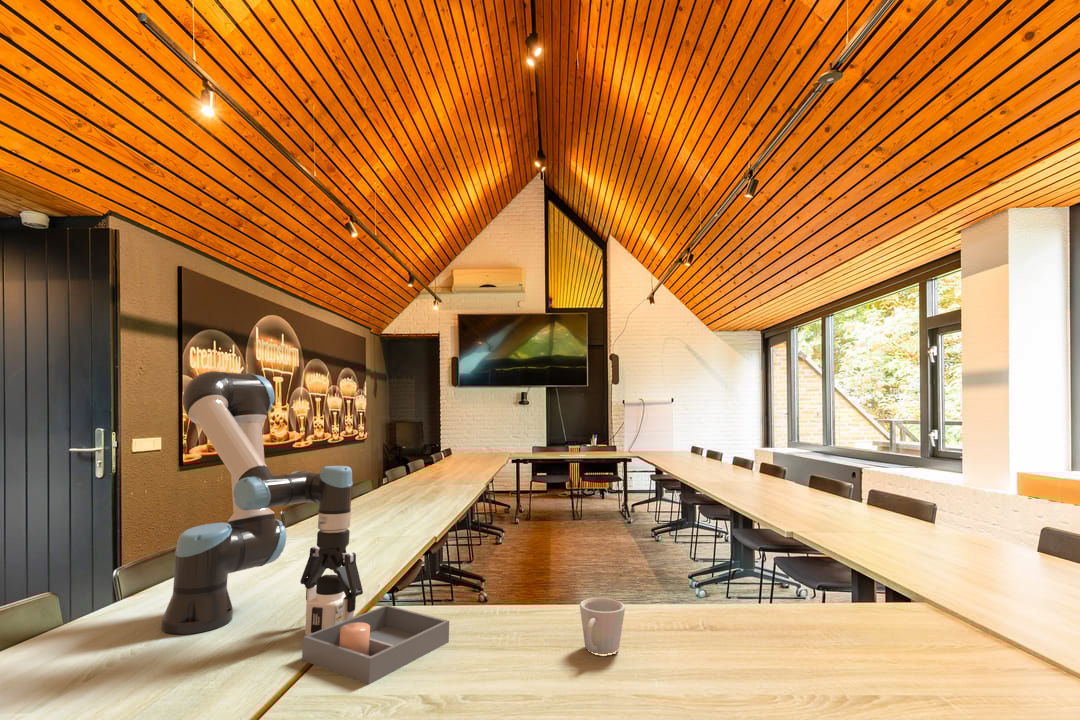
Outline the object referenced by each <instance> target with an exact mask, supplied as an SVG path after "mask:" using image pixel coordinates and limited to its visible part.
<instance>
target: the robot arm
mask: <svg viewBox="0 0 1080 720" xmlns="http://www.w3.org/2000/svg"><path fill="white" fill-rule="evenodd" d="M182 393H183V395H182V406H183V409H184V411H185V415H187V417H188V418H189V420H190V421H191V422H192V423H194V424H196V425H197V424H198V426H199V427H200V429H201V430H202V431H203V434H204V435H205V437H206V438H207V439H208V441H209V443H210V444H211V446H212V447H213V449H214V450H215V452H216V453H217V455H218V457H219V458H220V460H221V461H222V463H223V464H224V466H225V467H226V468H227V470H228V472H229V473H230V478H231V481H230V482H231V493H232V494H231V495H232V506H233V507H232V508H233V509H232V510H233V513H232V515H231V516H230V518H229V519H227V522H213V523H206V524H205V523H204V524H201V525H197V526H193V527H190V528H188V529H186V530H185V531H183V532H182V533H181V534H180V535H179V536H178V538H177V543H176V546H175V547H176V549H175V554H174V555H175V559H174V560H175V561H174V575H173V588H172V589H173V590H172V596H171V598H170V600H169V602H168V604H167V607H166V610H165V612H164V614H163V616H162V619H161V630H162V632H164V633H166V634H172V635H187V634H188V635H189V634H198V633H203V632H208V631H211V630H212V631H213V630H216V629H217V628H221V627H223V626H226V625H227V624H229V623H230V622H231V621H232V620H233V616H234V609H233V608H234V607H233V603H232V601H231V598H230V595H229V591H228V578H229V577H228V576H229V574H232V573H236V572H241V571H244V570H249V569H253V568H258V567H264V566H265V565H268V564H271V563H273V562H276V560H278V559H279V558H280V557H281V554H282V553H283V552H284V549H285V547H286V542H287V531H286V530H287V529H286V527H285V525H284V524H283V522H282V521H281V520H279V519H277V518H276V514H275V513H276V512H275V511H273V510H272V509H271V508H273V507H275V508H276V507H281V506H289V505H296V504H301V503H302V504H303V503H313V504H318V516H317V517H318V519H317V520H318V521H317V529H318V531H317V532H316V533H317V534H316V535H317V537H316V546H314V547H313V546H312V547H311V548H310V549H309V556H308V559H307V562H306V565H305V567H304V571H303V573H302V574H301V575H302V576H301V579H300V580H299V581H300V584H301V585H304V587H305V590H306V591H305V601H306V606H305V607H306V608H305V612H306V611H307V602H309V601H310V600H312V599H314V598H316V586H317V579H318V578H319V577H321V576H324V573H325V571H326V570H327V569H329V570H331V571H333V574H337V576H338V578H339V581H340V583H341V586H342V588H343V590H344V594H345V595H346V597H344V598H343V614H342V622H343V621H346V620H348V619H351V618H353V617H355V616H354V611H355V610H356V600H357V598H356V597H358V596H361V595H363V594H364V590H363V587H362V583H361V578H360V573H359V570H358V566H357V555H356V553H355V552H350V553H349V552H348V553H347V546H348V545H350V530H349V528H350V527H351V511H352V510H351V506H352V505H351V504H352V489H353V485H354V483H353V471H352V468H351V467H350V466H348V465H326V466H323V467H322V468H321V470H320V472H313V471H308V470H299V471H297V470H296V471H293V472H291V473H285V474H284V473H283V474H273V471H272V470H271V469H270V468H269V467H268V466H267V464H266V461H265V450H264V435H263V423H264V422H265V420H267V418H268V413H269V412H270V411H271V410H272V409H273V406H274V405H273V404H274V403H275V391H274V387H273V384H271V382H270V381H269V380H268V379H267V378H266V377H264V376H262V375H257V374H253V373H249V372H248V373H240V372H238V373H237V372H228V371H227V372H225V371H224V372H223V371H215V370H214V371H213V370H212V371H205V372H202V373H200V374H198V375H196V376H194V377H193V378H192V379H191V380H190V381H189V382H188V384H186V386H185V389H184V390H183V392H182Z"/></svg>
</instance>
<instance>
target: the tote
mask: <svg viewBox="0 0 1080 720" xmlns="http://www.w3.org/2000/svg"><path fill="white" fill-rule="evenodd" d="M357 622H361V623H367V624H369V625H370V639H369V656H368V655H365V654H362V653H359V652H356V651H353V650H350V649H347V648H344V647H341V646H339V644H340V628H341V627H342V626H344V625H346V624H350V623H357ZM449 641H450V620H448V619H444V618H439V617H436V616H432V615H429V614H425V613H424V614H423V613H419V612H417V611H412V610H408V609H405V608H401V607H397V606H392V605H389V604H386V605H381V606H380V607H378V608H377V607H376V608H374V609H372V610H368V611H367V612H365V613H361V614H358V615H357V616H353V618H351V619H348V620H346V621H343V622H340V623H338V624H335V625H332V626H330V627H327V628H325V629H322V630H319V631H317V632H314V633H312V634H309V635H304V636H303V637H302V654H301V660H302V661H303V662H306V663H308V664H311V665H315V666H317V667H320V668H322V669H326V670H329V671H330V672H334V673H335V674H336V673H337V674H340V675H341V676H345V677H347V678H350V679H353V680H356V681H358V682H362V683H364V684H367V685H371V684H373V683H375V682H376V681H379V680H380V679H382V678H384V677H386V676H388V675H390V674H392V673H394V672H395V671H398V670H399V669H401V668H403V667H404V666H407V665H408V664H410V663H412V662H413V663H414V661H416V660H418V659H420V658H422V657H424V656H426V655H427V654H428V655H429V653H431V652H434V651H435V650H437V649H439V648H441V647H443V646H445V645H446V644H449Z"/></svg>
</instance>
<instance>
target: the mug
mask: <svg viewBox="0 0 1080 720" xmlns="http://www.w3.org/2000/svg"><path fill="white" fill-rule="evenodd" d="M625 610H626V606H625V604H624V603H623V602H621V601H618V600H616V599H612V598H609V597H607V598H606V597H591V598H587V599H584V600H582V601H581V602H580V603H579V611H580V618H581V625H582V626H581V627H582V632H583V633H582V634H583V640H584V647H586V648H585V650H586V649H587V650H589V651H590V652H593V653H598V654H608V653H613V652H615V651H617V650H618V649H619V650H620V645H621V638H622V630H623V625H624V619H625V618H624V617H625V612H626V611H625ZM587 650H586V651H587ZM619 650H618V651H619Z"/></svg>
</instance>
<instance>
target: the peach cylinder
mask: <svg viewBox="0 0 1080 720" xmlns="http://www.w3.org/2000/svg"><path fill="white" fill-rule="evenodd" d="M369 639H370V625H369V624H367V623H361V622H357V623H350V624H346V625H344V626H342V627H341V628H340V644H339V646H341V647H344V648H347V649H350V650H353V651H356V652H359V653H362V654H365V655H368V656H369Z"/></svg>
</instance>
